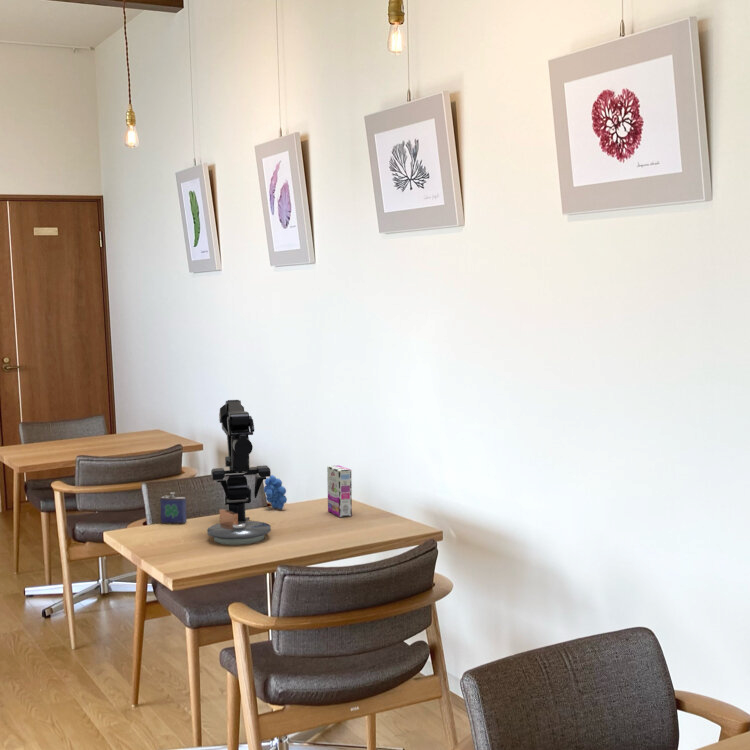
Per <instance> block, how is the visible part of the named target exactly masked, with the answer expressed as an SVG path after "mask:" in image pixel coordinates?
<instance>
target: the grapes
mask: <svg viewBox="0 0 750 750" xmlns="http://www.w3.org/2000/svg"><path fill="white" fill-rule="evenodd" d="M264 484H265V486H264V487H263V492H264V493H265V495H266V498H265V499H266V501H267V502H268V503H270V505H271V507H272V508H273V509H275V508H276V509H279V510H282V509H283V508H284V507H285V504H286V503H287V501H288V499H287V496H286V493H287V489H286V487H284V485H283V481H282V480H281V479H280V478H277V477H276V476H275V475H272V474H271V476H270V477H266V479H264Z"/></svg>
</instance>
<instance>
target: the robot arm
mask: <svg viewBox="0 0 750 750" xmlns="http://www.w3.org/2000/svg"><path fill="white" fill-rule="evenodd" d="M218 417H219V419H218V421H219V424H221V429H222V431H223V432H224V434H225V435H226V440H227V441H226V442H227V443H226V444H227V454H228V455H227V456H225V457H224V458H225V459H224V460H225V462H224V464H225V465H224V466H225V467H228V469H229V470H225V469H224V467H220V468H218V467H217V468H212V469H211V470H210V471H211V472H210V474H211V475H210V476H211V479H212V480H213V481H216V482H217V483H220V486H221V487H222V489H223V503H224V506H227V507H228V508H227V509H228V511H231V512H234V513H237V514H238V521H249V520H250V517H248V516H246V504H250V503H251V502H252V498H251V497H252V489H251V488H250V485H248V479H247V476H252V475H254V476H255V477H254V480H255V483H254V499H257V496H258V493H259V490H260V487H261V485H262V483H263V481H265V480H266V479H267V478H269V477H270V476H271V475H272V474H271V468H270V467H269V466H268V465H257V466H256V467H255V468H250V467H251V466H250V454H251V453H252V452H253V448H254V447H253V443H252V442H251V440H250V437H249V436H253V435H254V432H255V425H254V419H253V416H252V415H250V412H248V411H247V410H246V411H245V407H244V406H243V405H242V402H241V400H239V399H228V400H225V404H224V405H222V406H221V407H220V408H219V414H218ZM226 477H228V478H227V479H226Z"/></svg>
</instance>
